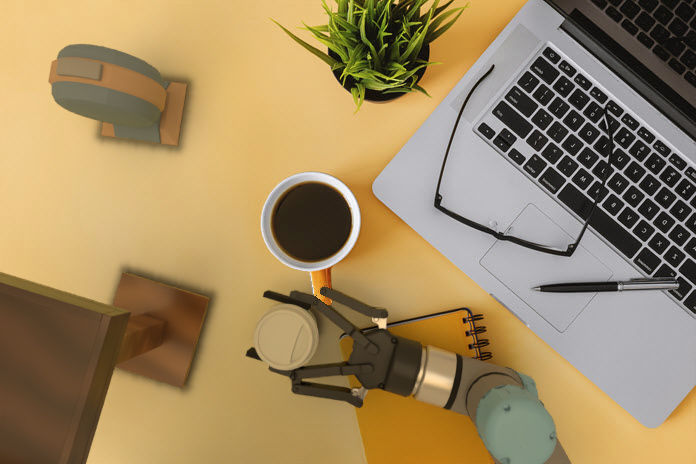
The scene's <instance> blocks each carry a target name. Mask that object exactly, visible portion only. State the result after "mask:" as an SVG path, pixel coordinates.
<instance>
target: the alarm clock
mask: <svg viewBox="0 0 696 464" xmlns="http://www.w3.org/2000/svg"><path fill="white" fill-rule="evenodd" d="M49 69H50V70H49V74H48V75H49V76H48V84H50V86H51V96H52V98H53V101H54V102H55V103H56V104H57V105H58V106H60V107H61V108H63V109H64V110H66V111H68V112H70V113H73V114H75V115H78V116H81V117H84V118H87V119H90V120H94V121H98V122H102V129H101V136H103V137H112V138H117V139H126V140H133V141H140V142H148V143H155V144H163V145H167V146H176V147H177V146H178V143H179V137H180V131H181V126H182V119H183V112H184V106H185V100H186V94H187V87H188V84H187V83H181V82H175V81H174V82H173V81H170V80H164V79H163V76H162V74H161V72H160V71H159V70H158V69H157V68H156V67H154V66H153V65H152V64H150V63H149V62H147V61H145V60H143V59H141V58H139V57H137V56H134V55H132V54H130V53H127V52H124V51H121V50H118V49H114V48H110V47H106V46H103V45H97V44H89V43H75V44H68V45H65V46H64V47H63V48H62V49H61V50H60V51H58V53H57V56H56V59H54V60H52V61H51V64H50V68H49Z"/></svg>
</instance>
